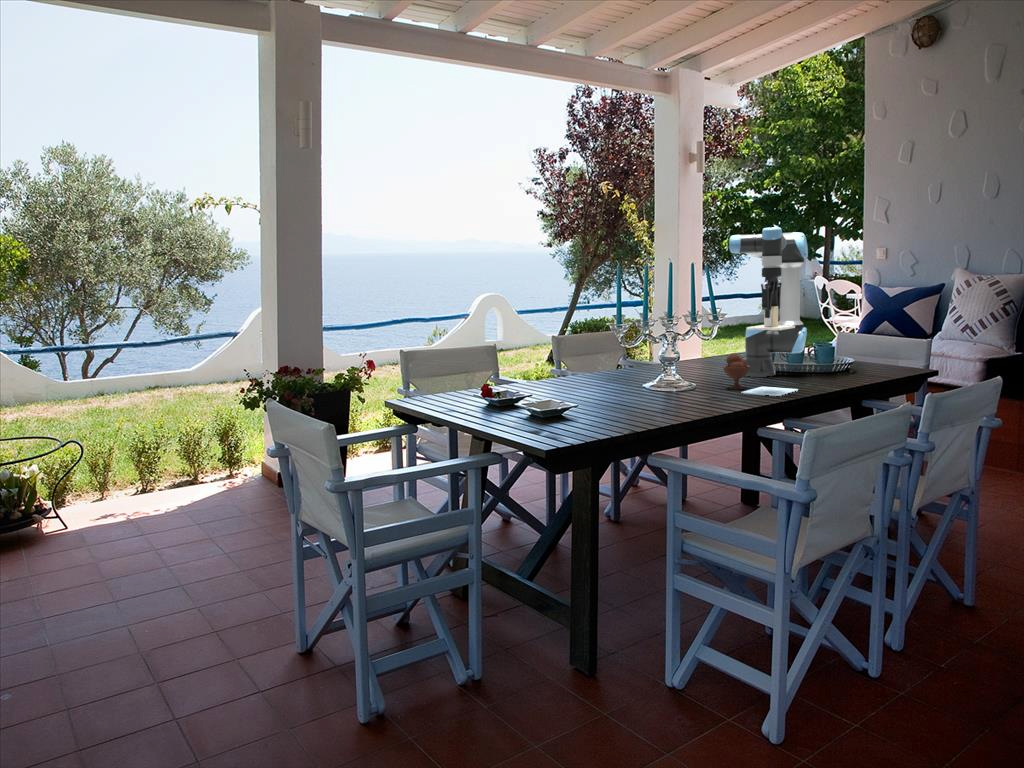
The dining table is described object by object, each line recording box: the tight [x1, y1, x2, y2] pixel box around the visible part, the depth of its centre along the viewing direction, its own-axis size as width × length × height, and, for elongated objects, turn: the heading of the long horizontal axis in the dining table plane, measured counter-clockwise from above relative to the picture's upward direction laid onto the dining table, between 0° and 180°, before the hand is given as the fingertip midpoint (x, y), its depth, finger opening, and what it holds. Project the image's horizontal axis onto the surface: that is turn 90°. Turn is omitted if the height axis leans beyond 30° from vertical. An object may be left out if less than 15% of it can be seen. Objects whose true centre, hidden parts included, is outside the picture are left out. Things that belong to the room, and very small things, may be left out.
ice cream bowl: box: [722, 352, 750, 390], centre depth 355 cm, size 11×11×15 cm
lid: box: [746, 306, 795, 330], centre depth 339 cm, size 14×14×9 cm
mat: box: [741, 386, 800, 397], centre depth 343 cm, size 18×16×1 cm
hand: (770, 325), depth 340 cm, fingers closed on lid, 4 cm apart
